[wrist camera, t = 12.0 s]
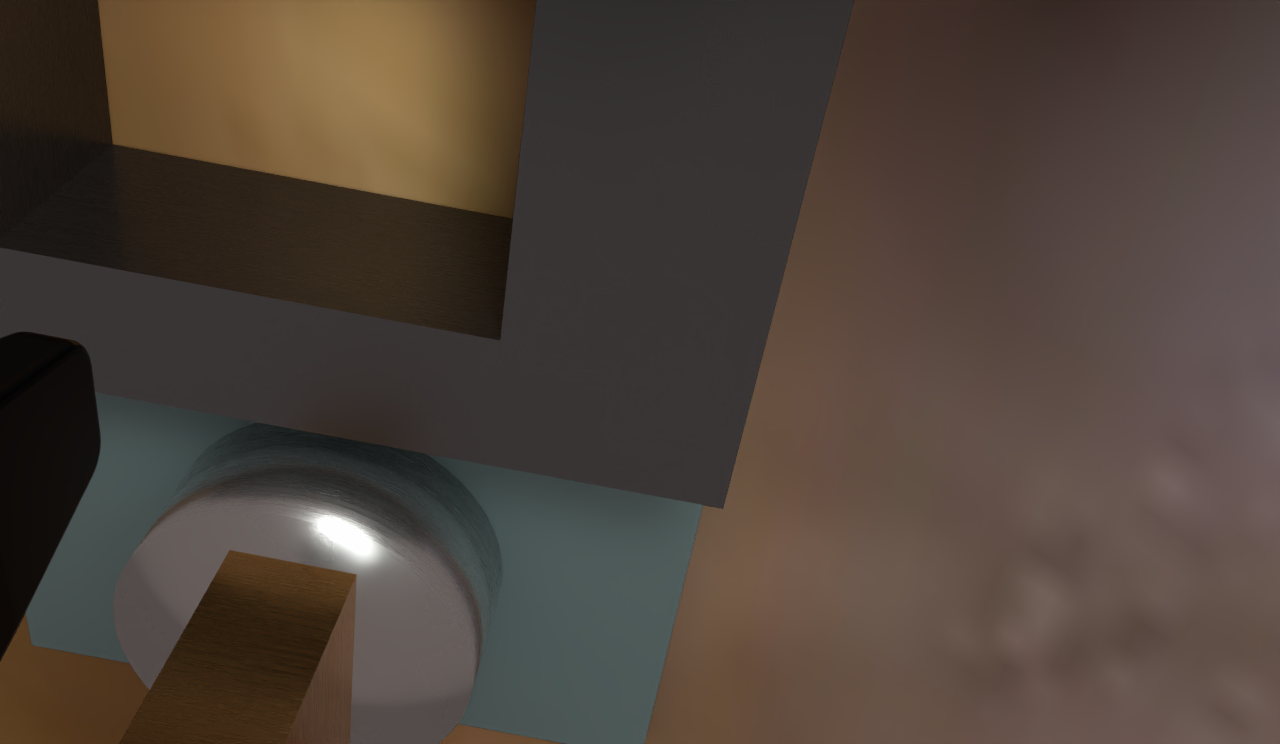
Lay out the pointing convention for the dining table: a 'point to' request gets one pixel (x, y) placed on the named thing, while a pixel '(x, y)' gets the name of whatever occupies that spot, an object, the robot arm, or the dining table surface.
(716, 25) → the housing
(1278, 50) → the dining table surface
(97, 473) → the mat
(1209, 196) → the dining table surface
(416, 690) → the grey round brown-barred piece
